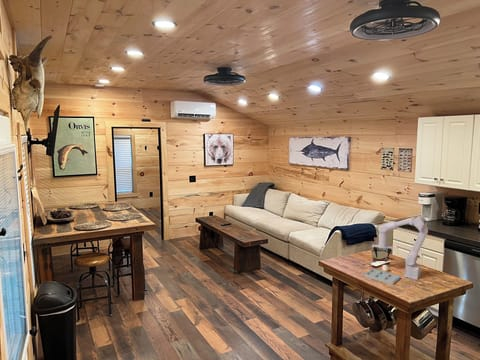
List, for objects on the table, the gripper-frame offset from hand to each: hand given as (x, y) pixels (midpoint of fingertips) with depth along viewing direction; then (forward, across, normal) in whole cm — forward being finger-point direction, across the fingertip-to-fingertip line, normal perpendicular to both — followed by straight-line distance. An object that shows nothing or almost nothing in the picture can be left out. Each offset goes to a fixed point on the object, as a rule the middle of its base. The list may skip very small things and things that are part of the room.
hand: (382, 257), depth 263 cm
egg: (+10, -2, +2) cm, 10 cm away
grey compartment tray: (+9, -1, +15) cm, 18 cm away
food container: (+10, +4, -20) cm, 23 cm away
